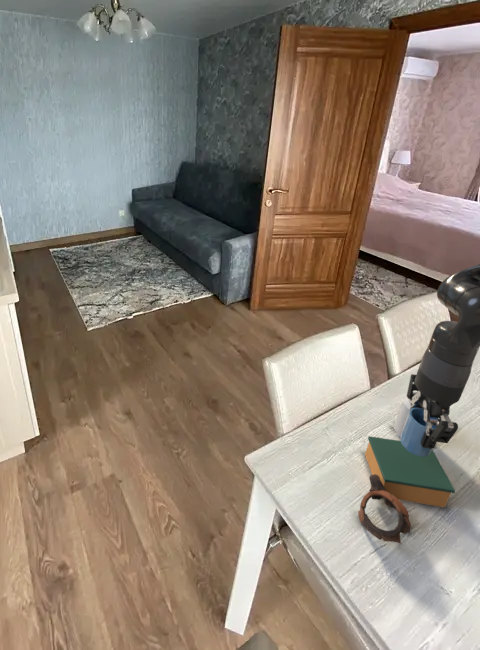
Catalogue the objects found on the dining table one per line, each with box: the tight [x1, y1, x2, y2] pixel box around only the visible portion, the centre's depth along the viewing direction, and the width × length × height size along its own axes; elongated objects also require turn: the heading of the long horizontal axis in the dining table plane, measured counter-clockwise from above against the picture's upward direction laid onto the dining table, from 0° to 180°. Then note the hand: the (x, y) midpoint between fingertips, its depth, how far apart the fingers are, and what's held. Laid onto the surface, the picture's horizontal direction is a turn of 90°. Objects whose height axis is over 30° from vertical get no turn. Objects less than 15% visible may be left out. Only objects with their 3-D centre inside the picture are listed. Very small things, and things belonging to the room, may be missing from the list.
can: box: [393, 391, 417, 438], centre depth 88 cm, size 8×8×12 cm
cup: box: [399, 407, 439, 457], centre depth 74 cm, size 6×6×8 cm
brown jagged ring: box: [357, 474, 412, 544], centre depth 72 cm, size 12×10×8 cm
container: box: [364, 435, 456, 508], centre depth 79 cm, size 14×11×6 cm
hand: (419, 433), depth 74 cm, fingers closed on cup, 5 cm apart
